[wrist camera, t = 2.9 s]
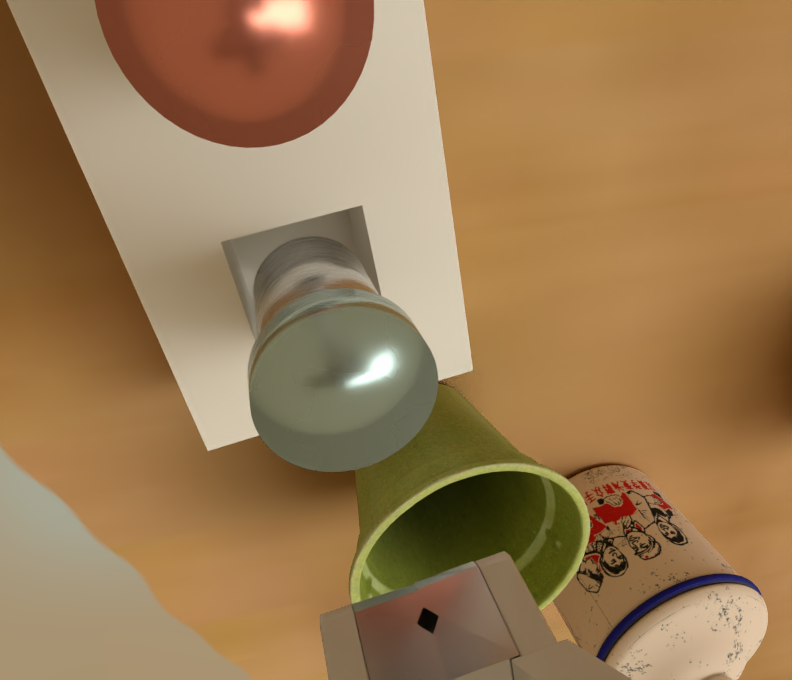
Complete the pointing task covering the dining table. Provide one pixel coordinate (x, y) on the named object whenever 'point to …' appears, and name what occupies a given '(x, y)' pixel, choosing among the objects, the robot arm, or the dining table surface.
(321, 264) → the plug
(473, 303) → the dining table surface
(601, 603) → the printed white mug
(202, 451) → the dining table surface
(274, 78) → the brick-red plug
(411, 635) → the robot arm
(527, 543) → the plant pot
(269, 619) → the dining table surface
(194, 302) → the block
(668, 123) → the dining table surface
